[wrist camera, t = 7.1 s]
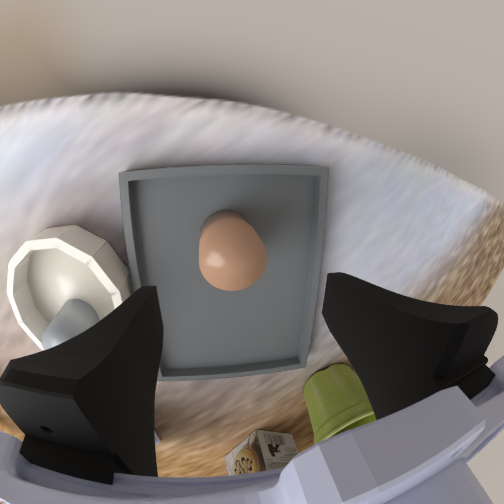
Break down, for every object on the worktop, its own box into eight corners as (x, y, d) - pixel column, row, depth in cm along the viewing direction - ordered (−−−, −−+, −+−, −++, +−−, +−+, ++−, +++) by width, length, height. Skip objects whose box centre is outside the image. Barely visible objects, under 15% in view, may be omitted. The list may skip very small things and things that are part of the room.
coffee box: (259, 459, 33) (282, 543, 19) (222, 456, 31) (240, 548, 16) (293, 432, 31) (329, 527, 17) (255, 428, 29) (285, 537, 14)
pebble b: (252, 259, 20) (266, 288, 16) (200, 262, 20) (201, 292, 15) (253, 208, 19) (267, 225, 15) (197, 211, 18) (196, 229, 14)
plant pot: (377, 354, 28) (415, 404, 20) (336, 406, 31) (362, 455, 23) (315, 346, 25) (352, 411, 17) (275, 404, 28) (296, 465, 20)
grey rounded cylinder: (106, 334, 20) (93, 369, 16) (71, 337, 20) (55, 369, 15) (90, 296, 19) (72, 328, 15) (55, 300, 18) (33, 330, 14)
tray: (300, 357, 26) (305, 367, 24) (158, 370, 23) (157, 381, 22) (320, 166, 19) (328, 167, 18) (124, 171, 17) (118, 172, 15)
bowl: (145, 342, 22) (140, 367, 19) (47, 339, 20) (35, 359, 17) (122, 220, 18) (108, 233, 15) (13, 232, 16) (-7, 244, 13)
